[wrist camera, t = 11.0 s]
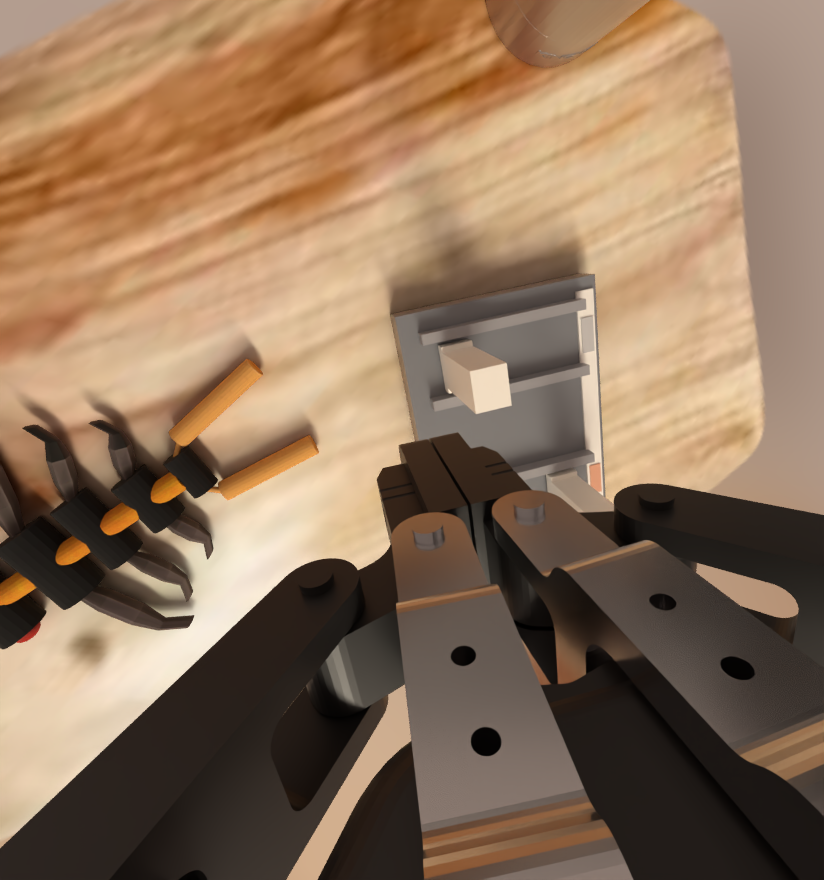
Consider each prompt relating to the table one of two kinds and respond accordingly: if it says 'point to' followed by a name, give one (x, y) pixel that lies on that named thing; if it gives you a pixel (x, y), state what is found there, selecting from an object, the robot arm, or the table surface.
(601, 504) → the far tab
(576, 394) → the switch box
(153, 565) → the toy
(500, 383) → the near tab
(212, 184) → the table surface
